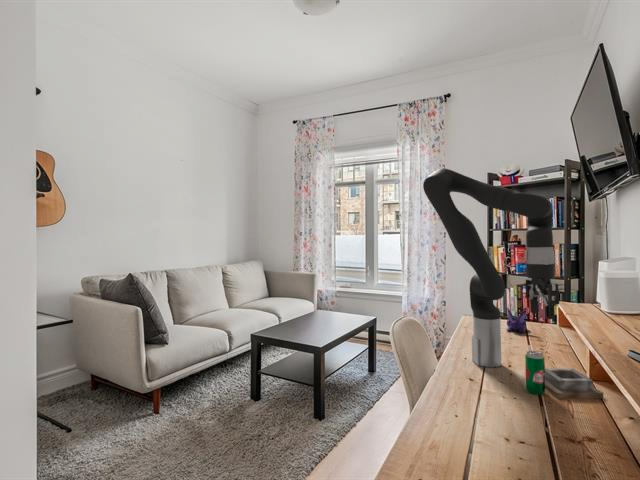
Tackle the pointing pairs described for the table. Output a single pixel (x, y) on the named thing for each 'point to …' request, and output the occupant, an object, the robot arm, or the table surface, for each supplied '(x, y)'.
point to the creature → (516, 321)
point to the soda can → (535, 372)
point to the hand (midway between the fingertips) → (542, 316)
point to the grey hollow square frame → (570, 384)
